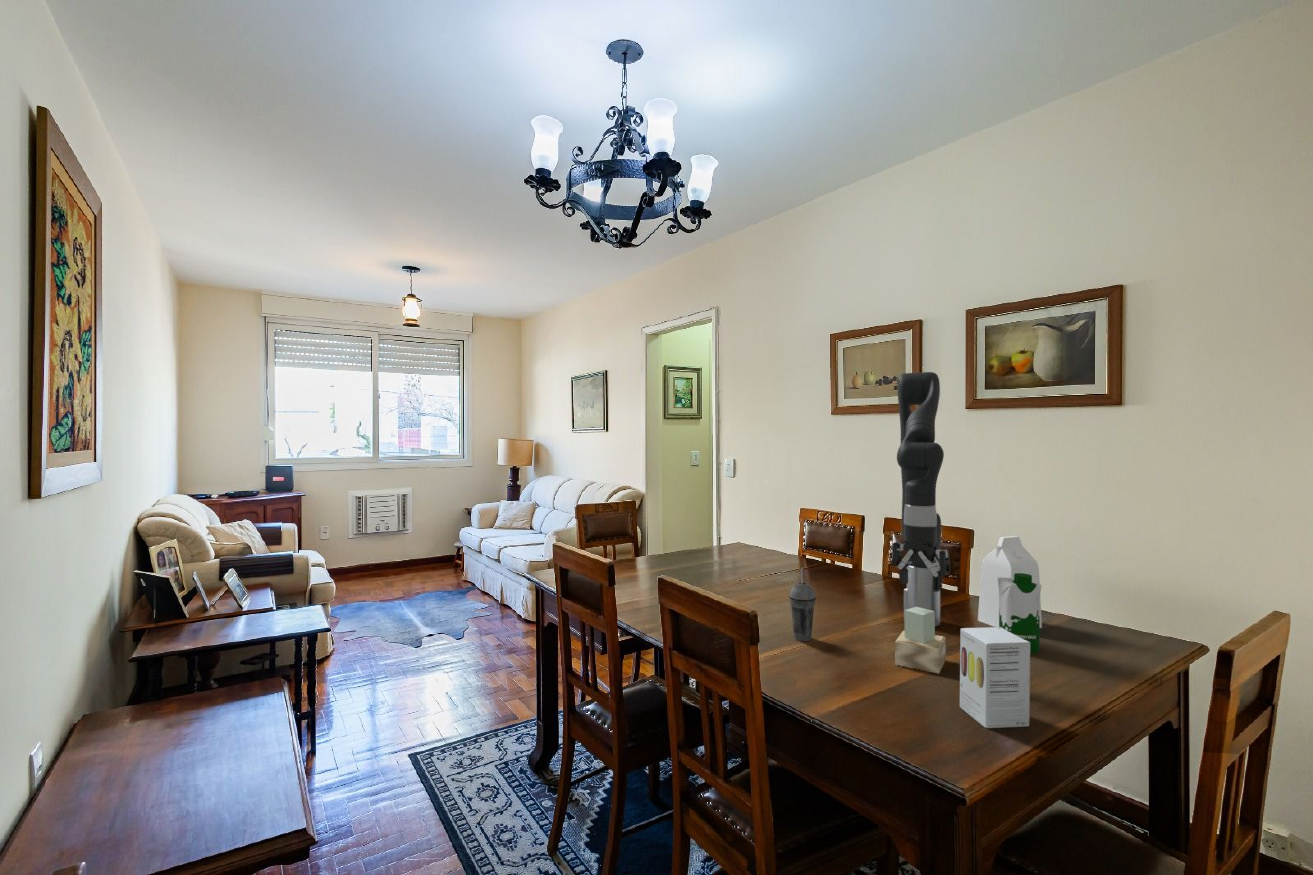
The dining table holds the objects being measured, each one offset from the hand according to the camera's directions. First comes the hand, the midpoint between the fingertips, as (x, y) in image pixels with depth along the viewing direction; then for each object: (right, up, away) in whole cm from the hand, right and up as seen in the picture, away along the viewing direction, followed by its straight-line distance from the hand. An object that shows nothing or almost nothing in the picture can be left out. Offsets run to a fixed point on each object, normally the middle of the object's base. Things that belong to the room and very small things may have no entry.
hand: (920, 587), depth 153 cm
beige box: (0, -19, 0) cm, 19 cm away
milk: (+39, -18, +30) cm, 53 cm away
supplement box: (+2, -19, -29) cm, 35 cm away
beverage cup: (-25, -19, +18) cm, 36 cm away
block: (0, -13, 0) cm, 13 cm away
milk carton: (+30, -19, +10) cm, 37 cm away
